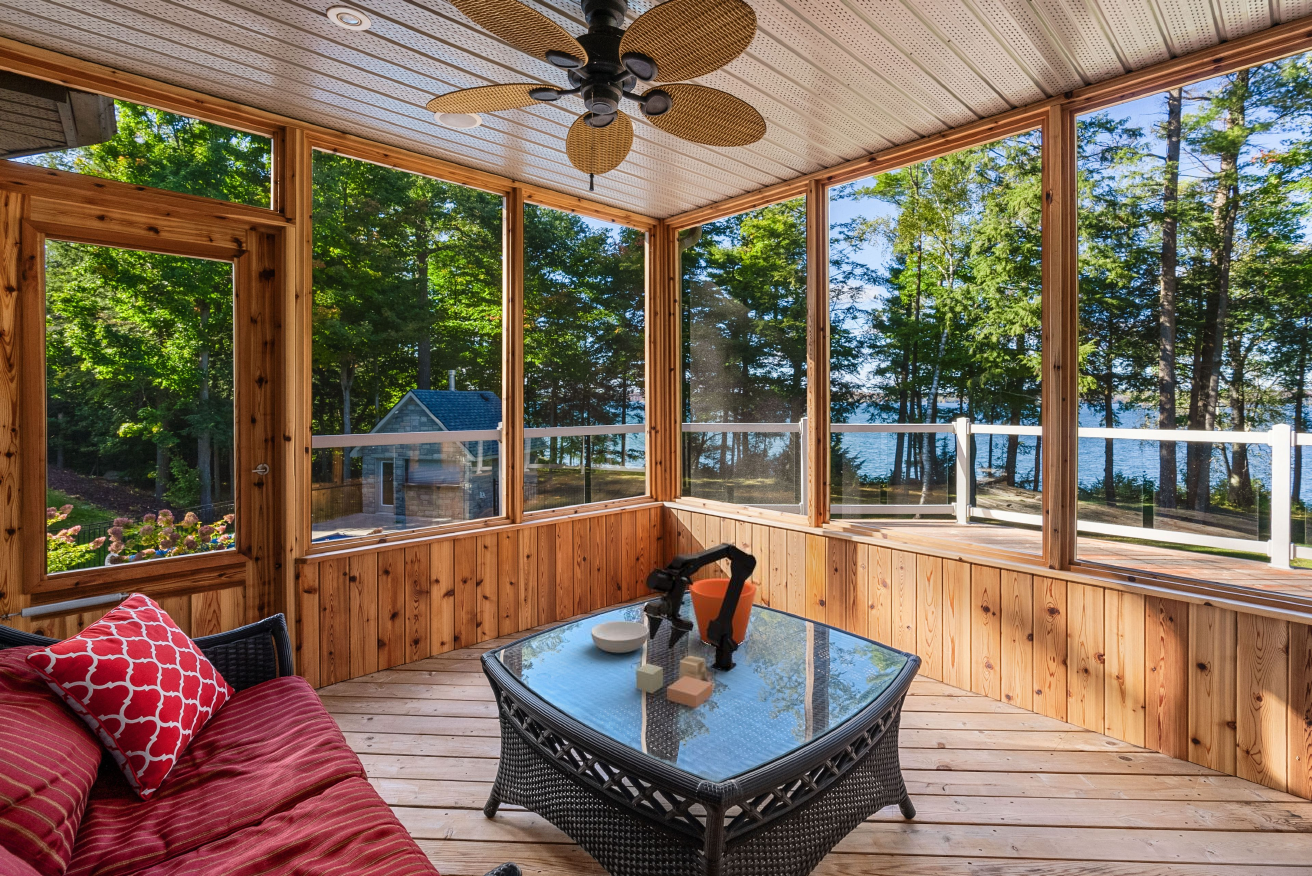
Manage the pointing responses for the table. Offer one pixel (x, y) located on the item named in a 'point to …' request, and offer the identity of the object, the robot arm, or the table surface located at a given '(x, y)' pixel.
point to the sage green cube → (649, 678)
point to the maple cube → (692, 667)
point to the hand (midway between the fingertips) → (660, 643)
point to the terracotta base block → (689, 691)
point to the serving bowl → (619, 636)
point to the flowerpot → (710, 600)
